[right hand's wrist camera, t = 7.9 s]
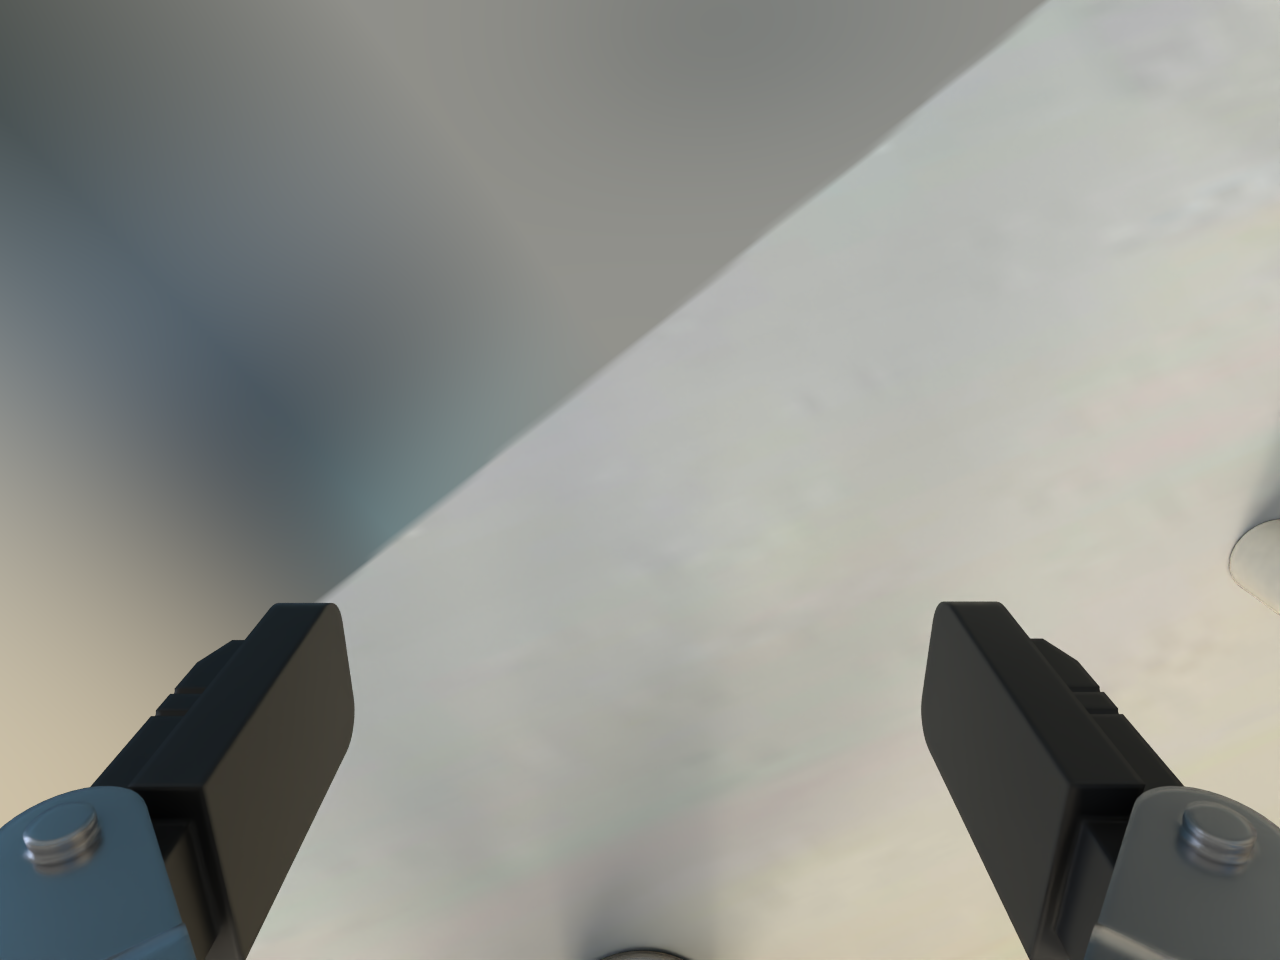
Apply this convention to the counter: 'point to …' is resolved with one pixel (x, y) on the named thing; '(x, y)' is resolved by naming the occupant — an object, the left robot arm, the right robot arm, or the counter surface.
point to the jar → (1259, 564)
